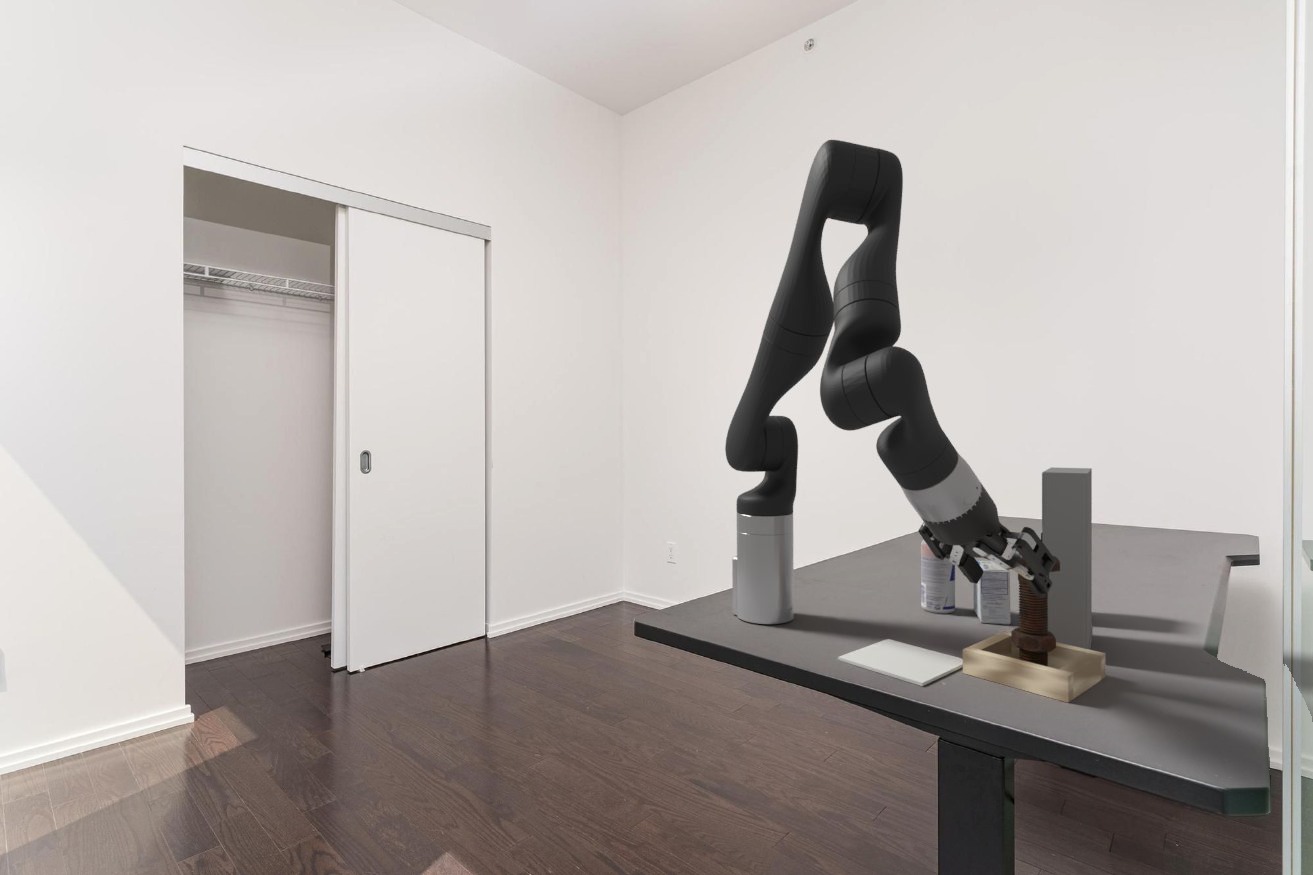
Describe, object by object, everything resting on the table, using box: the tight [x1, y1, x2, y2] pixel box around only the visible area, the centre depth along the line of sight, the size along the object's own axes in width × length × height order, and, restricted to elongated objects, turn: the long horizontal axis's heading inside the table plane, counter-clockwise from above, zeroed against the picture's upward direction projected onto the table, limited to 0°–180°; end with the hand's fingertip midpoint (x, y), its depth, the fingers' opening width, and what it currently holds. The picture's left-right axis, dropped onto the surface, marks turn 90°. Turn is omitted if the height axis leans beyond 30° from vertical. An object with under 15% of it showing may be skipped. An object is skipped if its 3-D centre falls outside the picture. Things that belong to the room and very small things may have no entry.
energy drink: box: [920, 538, 956, 615], centre depth 114 cm, size 5×5×12 cm
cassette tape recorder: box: [1040, 467, 1094, 650], centre depth 95 cm, size 14×6×25 cm, turn 145°
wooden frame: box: [962, 630, 1106, 704], centre depth 83 cm, size 12×12×3 cm
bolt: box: [1007, 555, 1060, 667], centre depth 83 cm, size 6×5×15 cm
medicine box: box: [973, 560, 1011, 626], centre depth 109 cm, size 8×4×9 cm, turn 162°
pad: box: [837, 638, 963, 687], centre depth 88 cm, size 12×12×1 cm
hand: (1009, 584), depth 81 cm, fingers open, 8 cm apart
